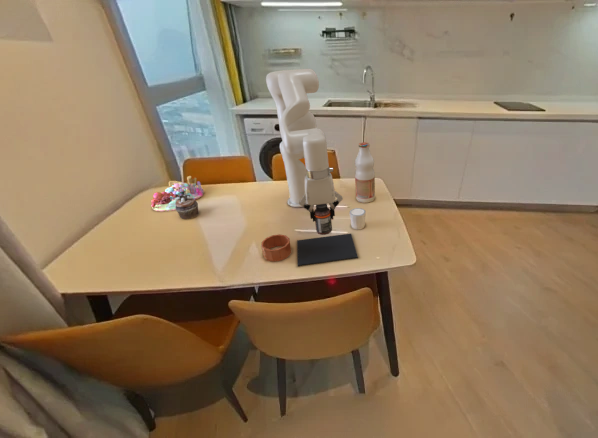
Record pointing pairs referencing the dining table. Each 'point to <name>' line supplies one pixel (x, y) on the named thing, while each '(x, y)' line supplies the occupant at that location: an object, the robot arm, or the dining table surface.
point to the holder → (276, 253)
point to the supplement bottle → (323, 219)
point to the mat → (325, 249)
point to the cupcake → (186, 206)
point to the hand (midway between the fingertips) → (322, 218)
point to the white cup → (357, 218)
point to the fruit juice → (364, 174)
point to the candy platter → (175, 194)
